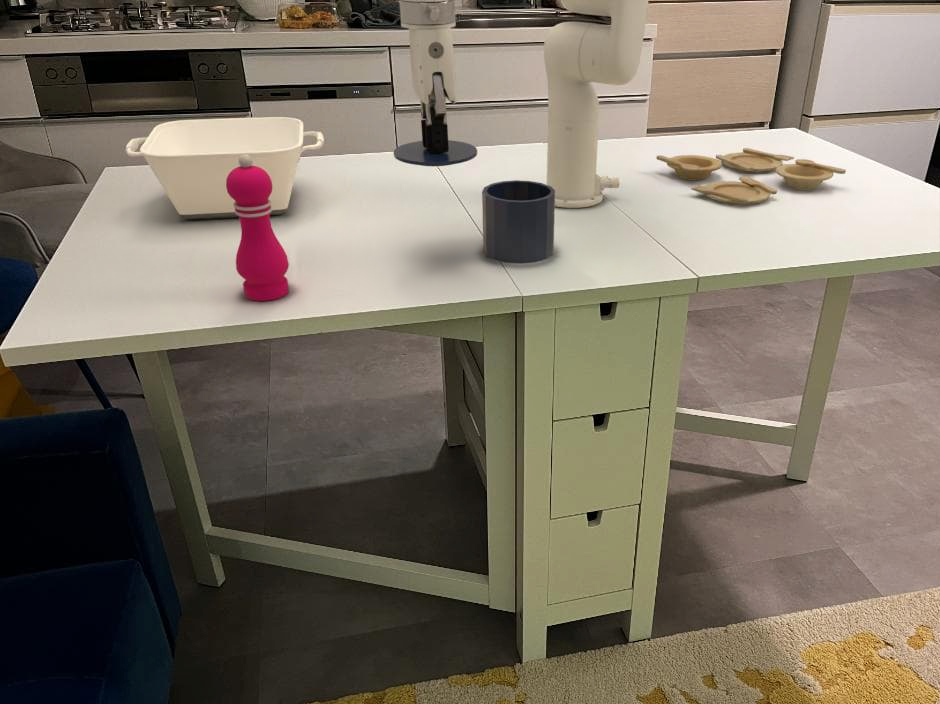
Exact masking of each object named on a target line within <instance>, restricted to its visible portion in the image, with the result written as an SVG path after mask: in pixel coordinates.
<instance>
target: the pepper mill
mask: <svg viewBox="0 0 940 704" xmlns="http://www.w3.org/2000/svg"><path fill="white" fill-rule="evenodd" d="M239 164H240V167H237V168H235V169H233V170H232V171H231V172H230V173H229V175H228V177H227V180H226V188H227V192H228V194H229V195H230V196H231V198H233V199H234V200H235V201H236V202H235V203H234V204H233V206H234V207H235V214H236V215H238V216H239V217H238V219H239V223H240V231H241V236H240V241H239V245H238V248H237V251H236V256H235V268H236V272H237V274H238V276H240V277H241V278H242V279H243V280H244V281H243V282H242V287H243V292H244V296H245V298H247V299H249V300H251V301H256V302H268V301H275V300H279V299H281V298H283V297H285V296H287V295H288V293H289V291H290V287H289V280H288V278H287V277H286V276H285V275H286V273H287V272H288V270H289V267H290V263H289V258H288V256H287V253H286V251H285V249H284V248H283V245H282V244H281V242H280V241H279V239H278V238H277V236H276V234H275V233H274V230H273V227H272V223H271V215H270V213H271V211H272V207H271V201H270V200H269V199H268V198H269V196H270V194H271V193H272V181H271V178H270V176H269V175H268V173H267V172H266V171H265V170H263V169H262V168H260V167H257V166H252V159H251V157H250V156H248V155H242V156H240V157H239Z"/></svg>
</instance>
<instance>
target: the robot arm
mask: <svg viewBox="0 0 940 704" xmlns="http://www.w3.org/2000/svg"><path fill="white" fill-rule="evenodd" d="M559 1H560V3H561V5H562V7H563V8H564V9H565V10H567V11H569V12H571V13H576V14H582V15H591V16H602V17H610V19H611V20H610V21H611V22H610V23H611V24H600V23H594V22H583V21H563V22H560V23H558V24H556V25H553V26H552V27H551V28H550V30H548V32H547V34H546V36H545V39H544V43H543V60H544V65H545V72H546V79H547V80H546V81H547V96H548V98H547V99H548V100H547V101H548V103H547V105H548V107H547V147H546V148H547V150H546V151H547V152H546V159H547V160H546V185H548V186H551V187H552V188H553V189H554V190H555V207H557V208H558V207H559V208H567V209H571V208H572V209H578V208H588V207H592V206H596V205H598V204H600V203H601V202H603V198H604V193H603V191H604V190H605V189H618V188H619V187H620V179H619V177H610V178H609V176H608V175H604V176H602V175H601V176H599V175H598V174H597V163H598V161H597V160H598V145H599V144H598V143H599V127H600V126H599V125H600V102H599V96H598V94H597V92H596V90H595V87H594V85H593V84H592V83H597V84H603V85H604V84H605V85H611V86H612V85H613V86H614V85H615V86H624V85H626V84H628V83H630V82H631V81H633V79H634V78H635V76H636V74H637V72H638V69H639V65H640V62H641V55H642V49H643V42H644V36H645V28H646V22H647V15H648V7H649V0H559ZM398 2H399V16H400V17H399V18H400V27H401V28H403V29H404V28H405V29H408V31H409V34H408V36H409V37H408V40H409V51H410V53H409V54H410V70H411V80H412V87H413V92H414V93H415V95H416V96H417V98H418V99H419V101H420V115H421V116H420V117H421V120H420V125H421V141H422V142H423V147H424V148H426V149H427V152H428V153H429V154H432V153H446V152H448V151H449V146H448V140H449V127H448V126H449V125H448V118H447V104H446V103H447V100H448V101H449V102H450V103H451V104H456V103H457V102H458V88H457V87H458V86H457V77H456V66H455V65H456V63H455V52H454V44H453V37H452V29H451V28H455V27H456V26H457V25H456V22H457V21H456V1H455V0H398ZM446 99H447V100H446ZM426 119H427V125H426Z"/></svg>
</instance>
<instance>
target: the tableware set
mask: <svg viewBox="0 0 940 704" xmlns="http://www.w3.org/2000/svg"><path fill="white" fill-rule="evenodd" d="M655 158H656V160H657V161H660V162H664V163H666V165H667V167H669V168H670V169H673V170H674V172H675V174H676V175H677V177H678V178H680V179H683V180H689V181H702V180H705V179H706V180H707V179H708V178H709V177H710V175H711V174H712V172H715V171H718V170H720V169H721V168H722V164H723V165H724V166H726V167H728V168H732V169H735V170H738V171H745V172H751V173H754V172H755V173H761V172H762V173H763V172H770V171H774V170H775V173H776V174H777V175H778V176H780V177H781V178H783V180H784V183H785V185H786V186H787V187H789V188H792V189H796V190H804V191H809V190H815V189H818V188H819V187H820V186H821V184H822V183H823V182H824V181H828V180H831V179H832V178H833V177H834V174H838V175H844V174H846V172H847V170H846V169H845V168H841V167H836V166H831V165H827V164H826V165H825V164H821V163H817V162H815V161H813V160H811V159H805V158H798V159H795V156H790V155H786V154H775V153H770V152H765V151H762V150H758V149H753V148H749V147H744V148H742V151H741V152H731V153H727V154H724V155H722V154H716V155H715V158H714V157H709V156H704V155H698V154H697V155H696V154H682V155H675V156H673V157H668V156H665V155H660V154H658V155H656V157H655ZM794 159H795V161H794V162H795V163H788V164H783V162H789V161H791V160H794ZM690 190H692V191H694V192H697V193H700V194H703V195H705V196H706V197H707V198H710V199H713V200H716V201H719V202H723V203H727V204H735V205H736V204H737V205H747V204H748V205H749V204H756V203H762V202H764V201H766V200H768V199H770V197H771V195H776V194H777V193H778V190H777V189H775V188H773V187H771V186H769V185H767V184H765V183H763V182H761V181H758V180H757V179H755V178H752V177H749V176H746V175H741V176H739V177H738V181H734V180H733V181H732V180H730V181H729V180H725V181H723V180H722V181H716V182H711V183H707V184H706V185H701V184H698V185H695V186H692V187H690Z"/></svg>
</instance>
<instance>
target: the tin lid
mask: <svg viewBox="0 0 940 704" xmlns="http://www.w3.org/2000/svg"><path fill="white" fill-rule="evenodd" d="M425 120H426V125H427V119H425ZM448 146H449V151H448V152H446V153H432V154H429V153H428V152H427V149H426V148H424V147H423V142H422V140H418V141H411V142H407V143H405V144H401V145H400V146H397V147H396V148H395V149H394V150H393V157H394V158H395V159H396V160H397V161H399V162H401V163H405V164H410V165H414V166H421V167H446V166H447V167H448V166H451V165H458V164H462V163H465V162H468V161H472V160H473V159H475V158H476V157H477V156H478V149H477V147H476V146H475V145H472V144H471V143H467V142H464V141H459V140H450V139H448Z"/></svg>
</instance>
